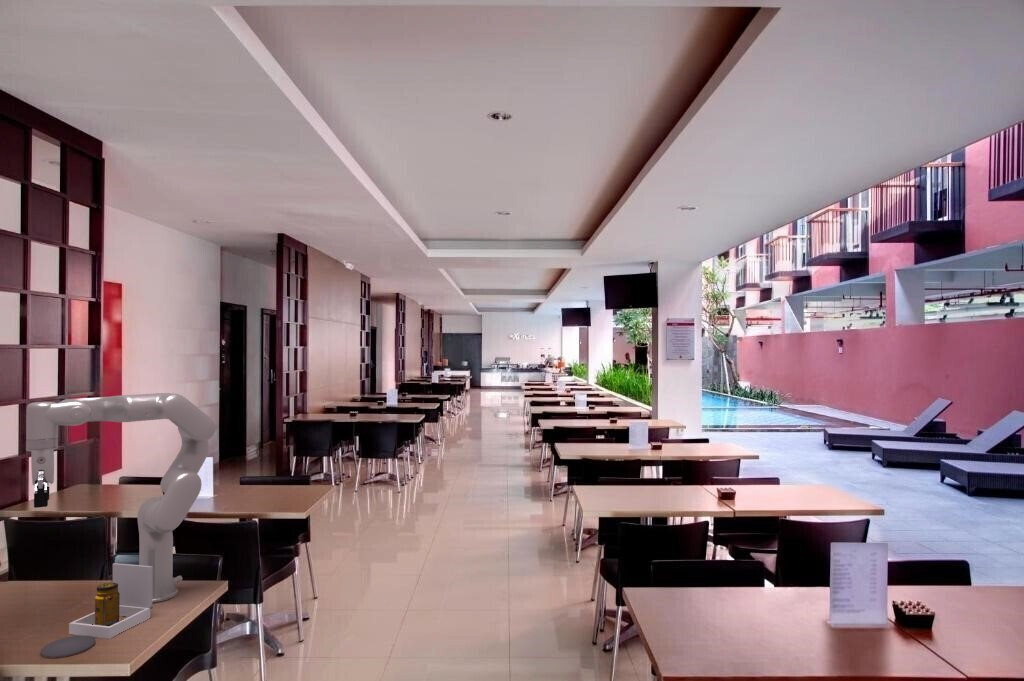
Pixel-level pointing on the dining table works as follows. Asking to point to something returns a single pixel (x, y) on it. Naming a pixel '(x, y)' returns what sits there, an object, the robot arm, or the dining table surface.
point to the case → (122, 602)
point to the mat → (68, 646)
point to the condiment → (107, 604)
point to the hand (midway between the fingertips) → (41, 503)
